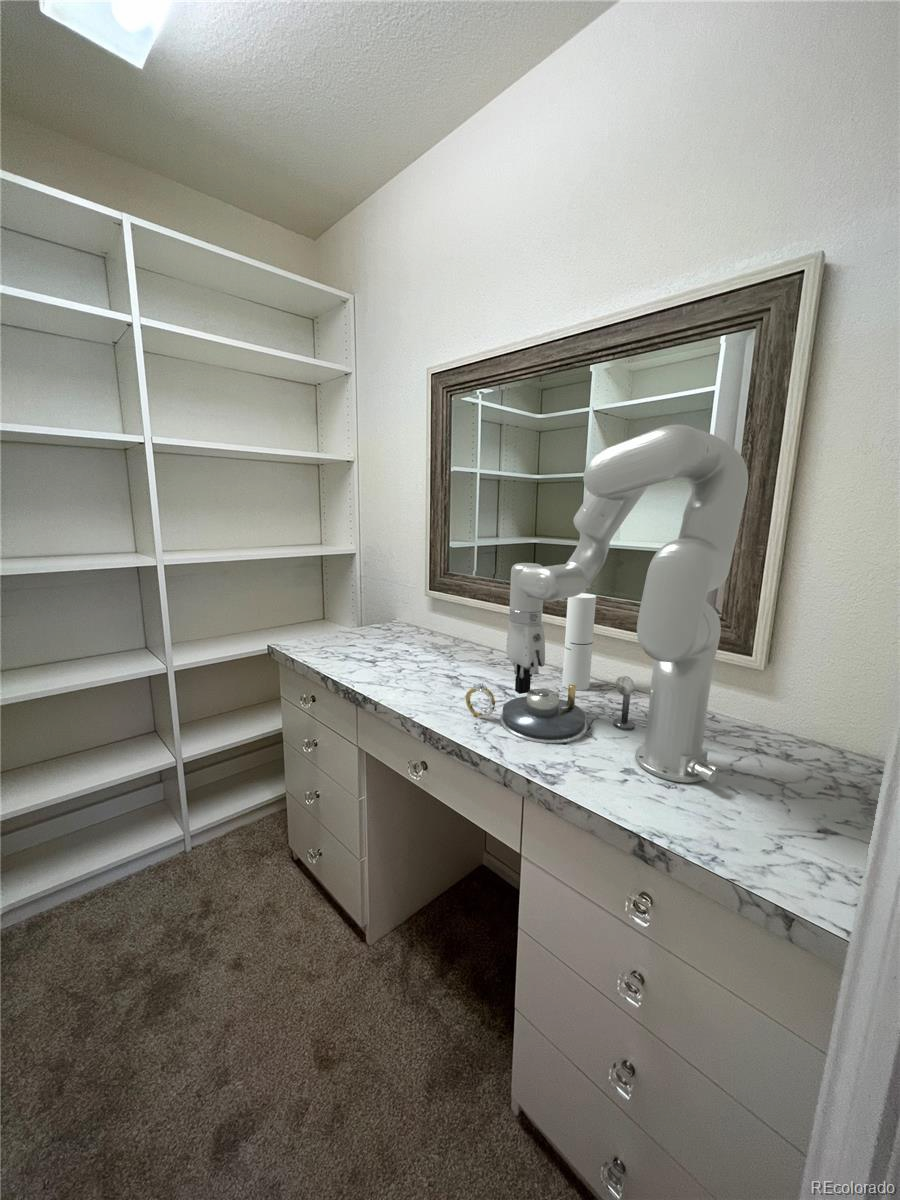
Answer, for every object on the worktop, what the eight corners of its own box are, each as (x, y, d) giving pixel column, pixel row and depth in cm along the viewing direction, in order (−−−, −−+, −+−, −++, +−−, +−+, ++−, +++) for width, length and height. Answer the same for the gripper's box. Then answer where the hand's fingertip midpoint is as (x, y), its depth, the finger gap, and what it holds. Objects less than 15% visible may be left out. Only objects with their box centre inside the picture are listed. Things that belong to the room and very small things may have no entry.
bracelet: (463, 715, 108) (463, 682, 106) (471, 711, 110) (472, 678, 109) (488, 724, 103) (489, 690, 102) (496, 719, 106) (497, 686, 104)
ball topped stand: (639, 728, 103) (643, 678, 101) (623, 731, 101) (628, 681, 99) (624, 720, 107) (628, 672, 105) (609, 723, 105) (613, 674, 103)
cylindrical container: (583, 692, 123) (590, 598, 118) (557, 686, 127) (563, 595, 123) (593, 684, 129) (600, 595, 124) (568, 679, 133) (574, 592, 128)
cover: (565, 715, 103) (566, 696, 102) (538, 720, 100) (539, 701, 99) (545, 703, 109) (546, 685, 108) (520, 708, 106) (521, 689, 105)
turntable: (602, 730, 100) (605, 699, 99) (531, 745, 93) (533, 712, 92) (551, 699, 116) (553, 672, 115) (488, 710, 109) (489, 682, 108)
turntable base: (605, 733, 100) (606, 732, 100) (530, 750, 92) (530, 748, 92) (552, 701, 117) (552, 699, 117) (485, 712, 109) (485, 711, 109)
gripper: (558, 622, 103) (554, 701, 107) (521, 609, 117) (518, 679, 120) (530, 625, 100) (526, 706, 104) (495, 611, 114) (493, 683, 117)
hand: (522, 691), depth 112 cm, fingers closed
